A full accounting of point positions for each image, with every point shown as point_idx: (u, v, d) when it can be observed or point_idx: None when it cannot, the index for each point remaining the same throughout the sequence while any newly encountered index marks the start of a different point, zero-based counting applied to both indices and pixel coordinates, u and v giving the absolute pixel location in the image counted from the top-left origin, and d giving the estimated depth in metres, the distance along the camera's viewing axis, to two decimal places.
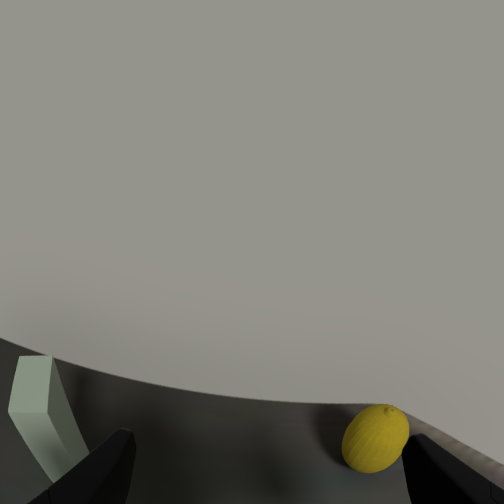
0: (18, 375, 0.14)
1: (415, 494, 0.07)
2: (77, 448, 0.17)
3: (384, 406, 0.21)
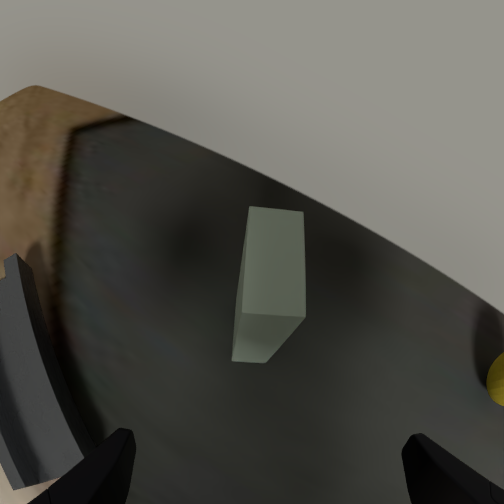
0: (252, 243, 0.14)
1: (415, 494, 0.07)
2: None
3: None
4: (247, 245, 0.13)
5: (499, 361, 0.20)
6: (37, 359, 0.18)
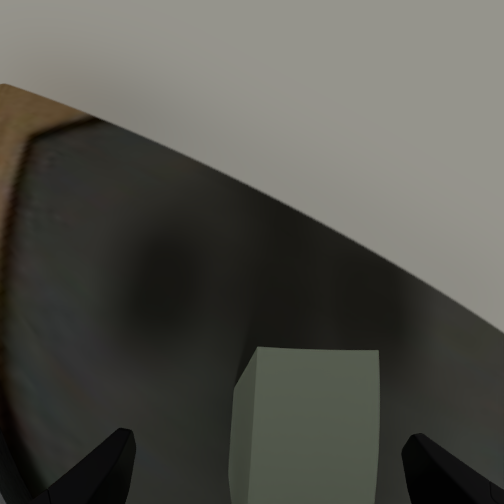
0: (264, 446, 0.05)
1: (415, 494, 0.07)
2: None
3: None
4: (253, 452, 0.05)
5: None
6: None
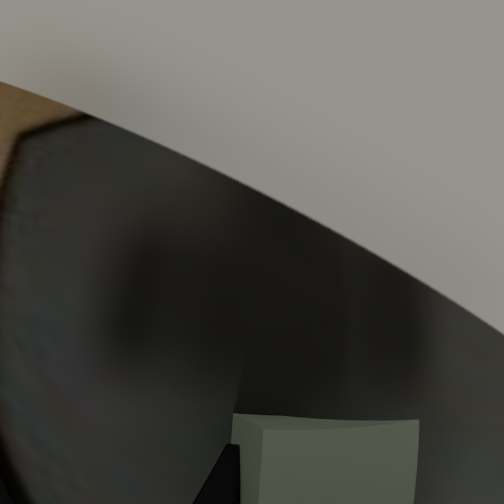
0: None
1: None
2: None
3: None
4: None
5: None
6: None
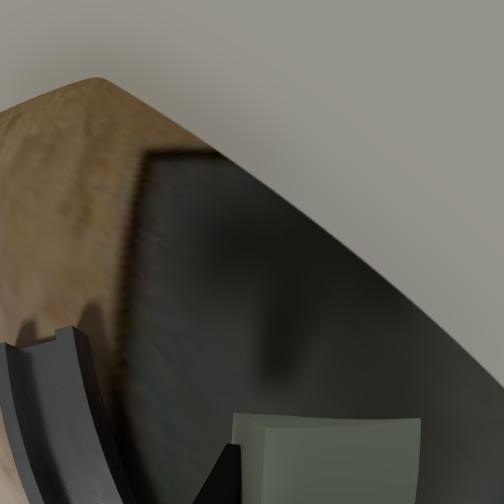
0: None
1: None
2: None
3: None
4: None
5: None
6: (101, 462, 0.15)
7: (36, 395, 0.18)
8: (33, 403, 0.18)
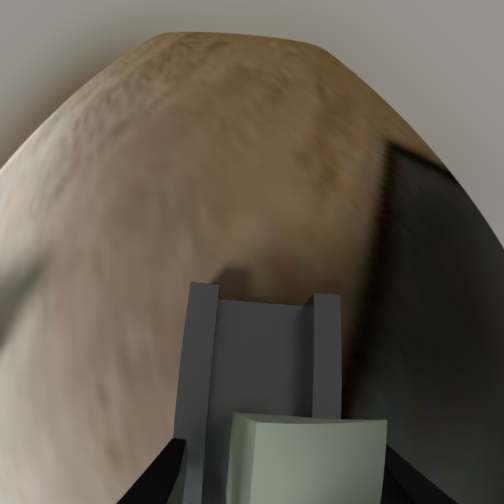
0: None
1: None
2: None
3: None
4: None
5: None
6: None
7: (230, 368, 0.17)
8: (220, 378, 0.16)
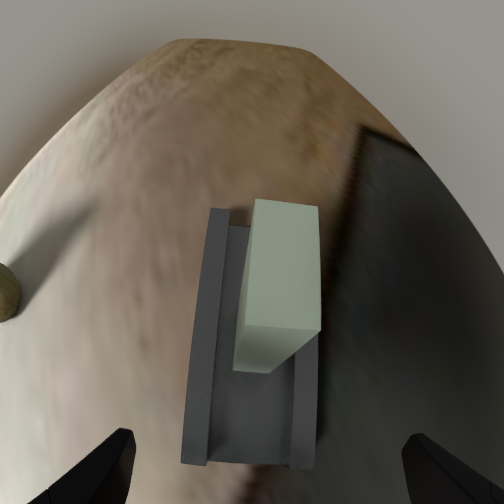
0: (258, 241, 0.11)
1: (415, 494, 0.07)
2: None
3: None
4: (252, 244, 0.11)
5: None
6: (312, 343, 0.20)
7: (237, 271, 0.24)
8: (230, 278, 0.24)
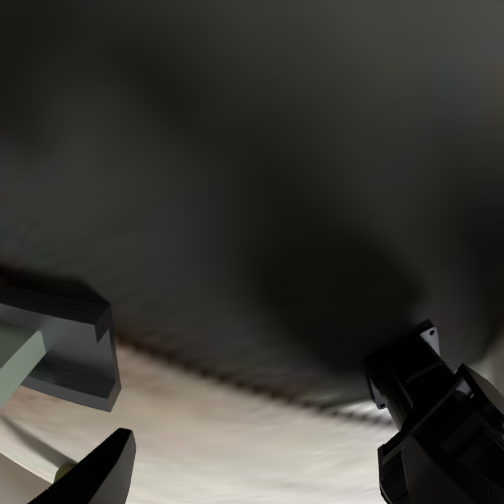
0: None
1: (415, 494, 0.07)
2: None
3: None
4: None
5: None
6: (3, 308, 0.18)
7: None
8: None
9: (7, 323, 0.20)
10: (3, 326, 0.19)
